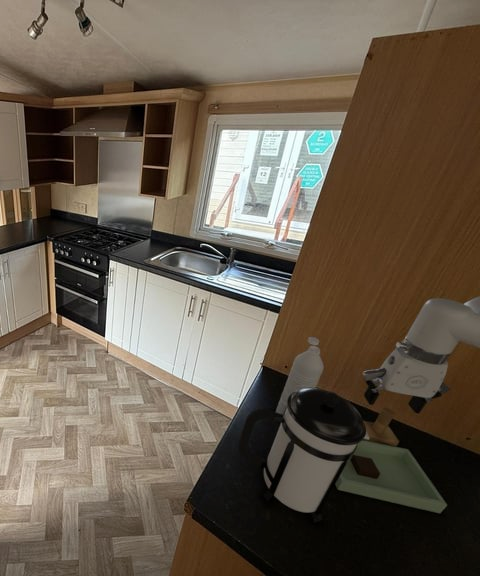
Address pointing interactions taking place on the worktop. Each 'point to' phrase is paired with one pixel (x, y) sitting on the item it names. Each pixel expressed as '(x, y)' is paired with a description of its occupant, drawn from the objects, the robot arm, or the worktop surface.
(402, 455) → the tray
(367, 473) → the brown square block
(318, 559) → the worktop surface
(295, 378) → the water bottle
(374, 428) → the brush
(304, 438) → the coffee press
